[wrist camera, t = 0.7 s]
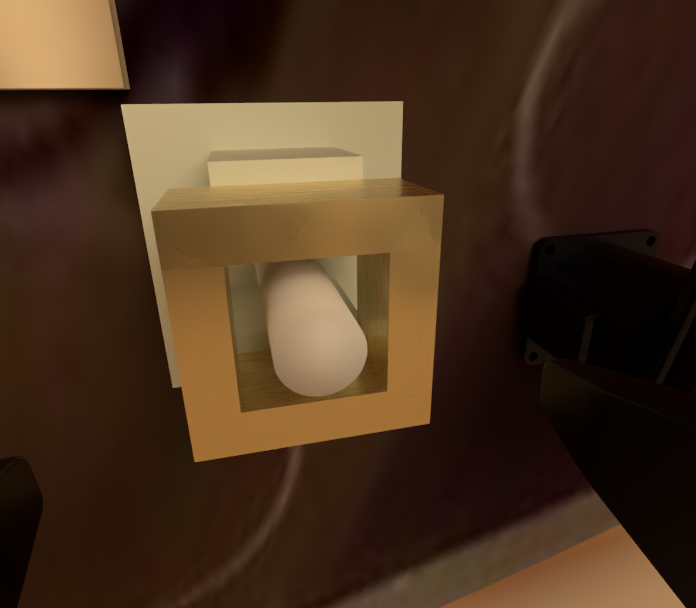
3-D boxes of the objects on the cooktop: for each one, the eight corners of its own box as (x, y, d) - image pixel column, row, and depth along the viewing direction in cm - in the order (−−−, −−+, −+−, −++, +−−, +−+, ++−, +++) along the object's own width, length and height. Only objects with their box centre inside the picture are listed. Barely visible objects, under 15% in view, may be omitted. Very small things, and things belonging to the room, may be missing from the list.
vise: (385, 102, 18) (546, 91, 9) (381, 338, 22) (492, 498, 13) (132, 105, 16) (9, 94, 7) (177, 363, 20) (135, 572, 11)
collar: (398, 177, 13) (444, 194, 10) (393, 367, 15) (429, 423, 12) (169, 188, 12) (150, 211, 9) (201, 394, 14) (194, 462, 11)
